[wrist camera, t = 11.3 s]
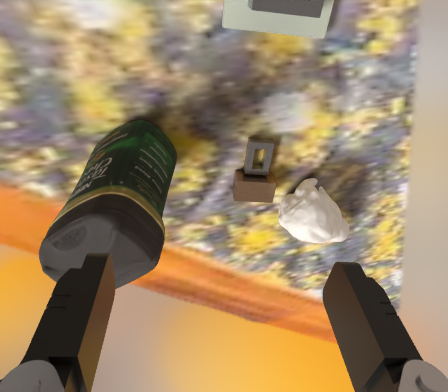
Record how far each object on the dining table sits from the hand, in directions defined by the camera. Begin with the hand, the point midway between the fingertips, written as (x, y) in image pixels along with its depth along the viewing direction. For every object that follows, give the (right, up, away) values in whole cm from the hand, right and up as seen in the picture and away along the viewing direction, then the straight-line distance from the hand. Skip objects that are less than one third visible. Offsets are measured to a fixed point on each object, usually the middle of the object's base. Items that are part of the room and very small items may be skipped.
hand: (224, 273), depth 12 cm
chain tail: (+4, +7, +30) cm, 31 cm away
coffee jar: (-11, +8, +28) cm, 31 cm away
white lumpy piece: (+12, +2, +35) cm, 37 cm away
